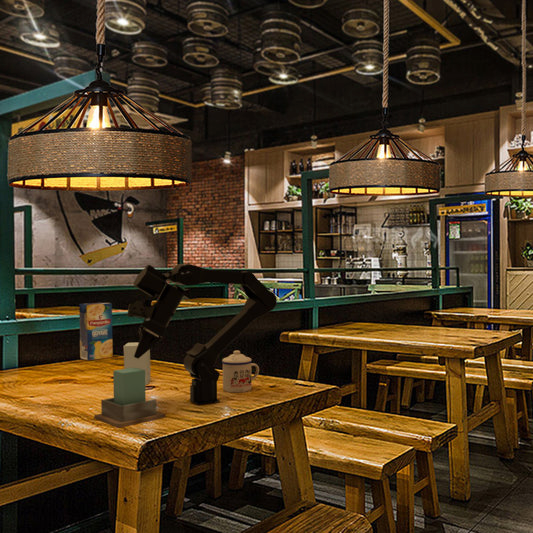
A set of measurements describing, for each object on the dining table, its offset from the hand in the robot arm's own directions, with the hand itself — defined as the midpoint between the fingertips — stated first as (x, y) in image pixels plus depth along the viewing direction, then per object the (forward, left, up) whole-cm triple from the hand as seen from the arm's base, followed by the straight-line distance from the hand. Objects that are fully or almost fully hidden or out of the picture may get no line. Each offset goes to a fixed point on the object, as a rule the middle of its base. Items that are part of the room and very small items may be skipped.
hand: (135, 357), depth 154 cm
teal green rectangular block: (+4, +6, -13) cm, 15 cm away
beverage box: (-12, -93, -14) cm, 95 cm away
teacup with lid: (-35, -8, -14) cm, 39 cm away
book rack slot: (+4, +6, -14) cm, 15 cm away
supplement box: (-11, -34, -14) cm, 39 cm away
